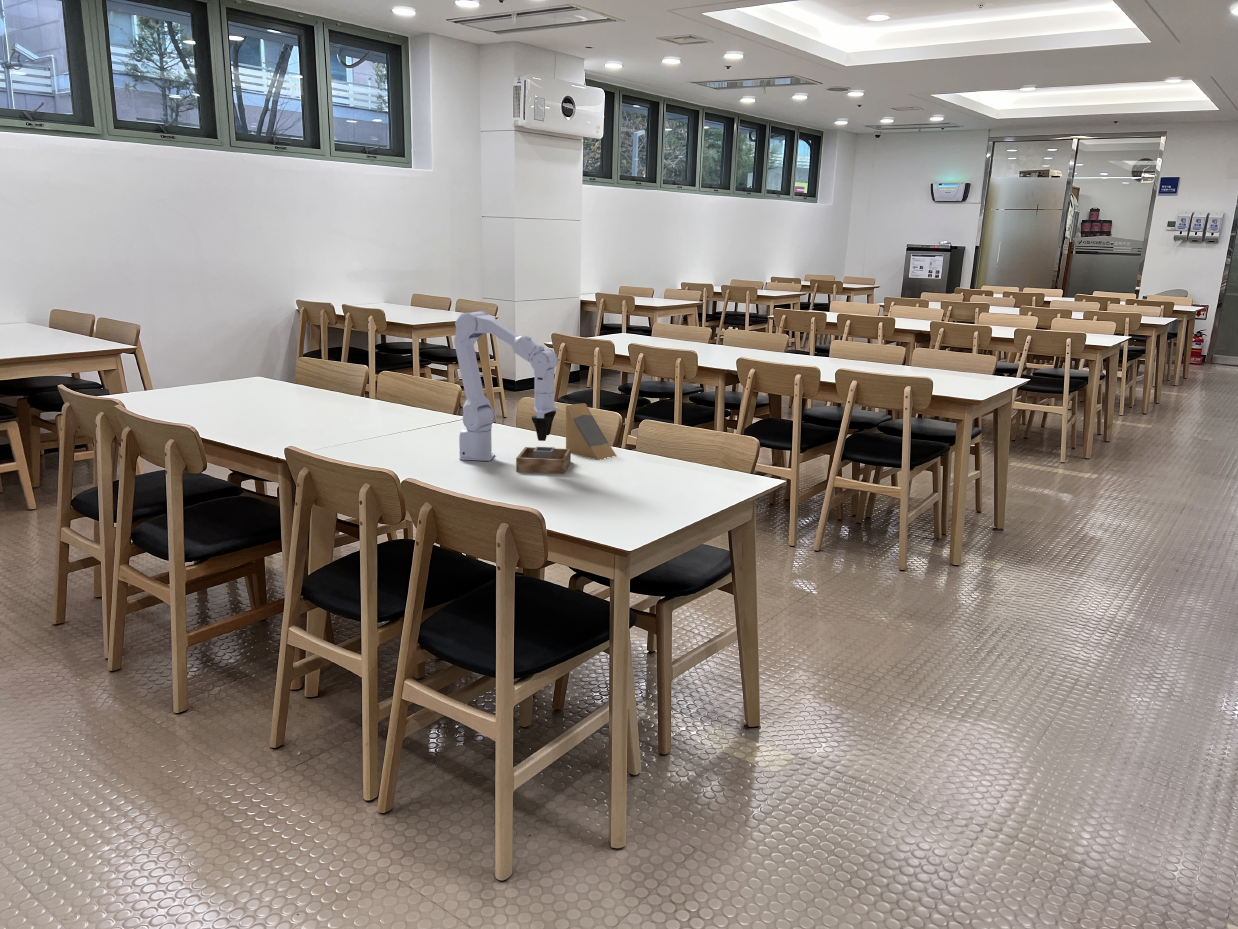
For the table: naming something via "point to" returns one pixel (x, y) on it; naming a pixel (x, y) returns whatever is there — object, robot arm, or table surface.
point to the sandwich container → (585, 434)
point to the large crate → (543, 461)
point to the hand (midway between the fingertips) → (544, 437)
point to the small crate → (544, 452)
